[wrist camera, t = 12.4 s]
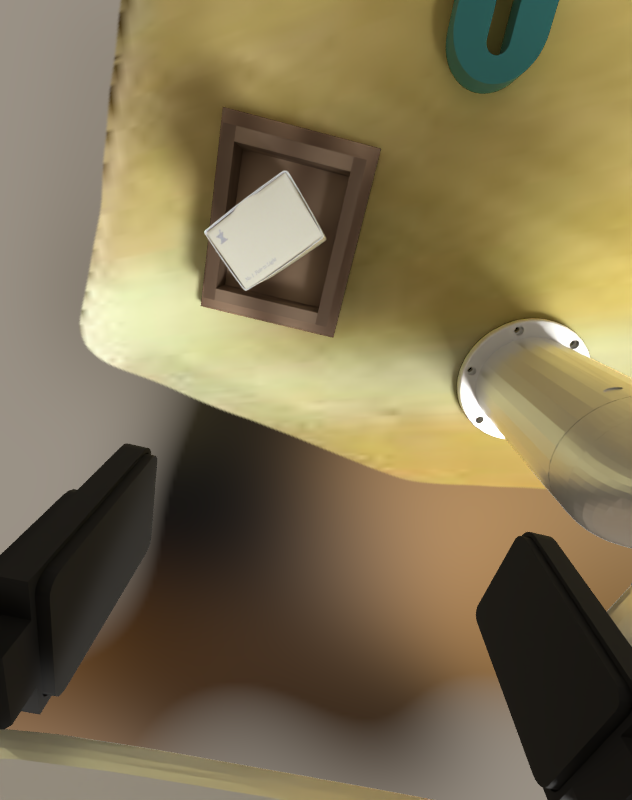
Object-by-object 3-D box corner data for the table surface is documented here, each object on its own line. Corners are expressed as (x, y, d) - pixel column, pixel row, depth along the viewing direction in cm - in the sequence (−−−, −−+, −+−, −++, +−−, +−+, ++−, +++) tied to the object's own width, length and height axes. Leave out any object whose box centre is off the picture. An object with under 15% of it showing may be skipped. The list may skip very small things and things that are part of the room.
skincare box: (271, 277, 36) (242, 297, 25) (243, 233, 34) (198, 232, 23) (330, 238, 34) (327, 239, 23) (302, 190, 33) (285, 166, 22)
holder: (379, 151, 32) (385, 140, 29) (333, 335, 39) (333, 345, 35) (226, 110, 32) (212, 94, 28) (204, 304, 38) (190, 311, 34)
